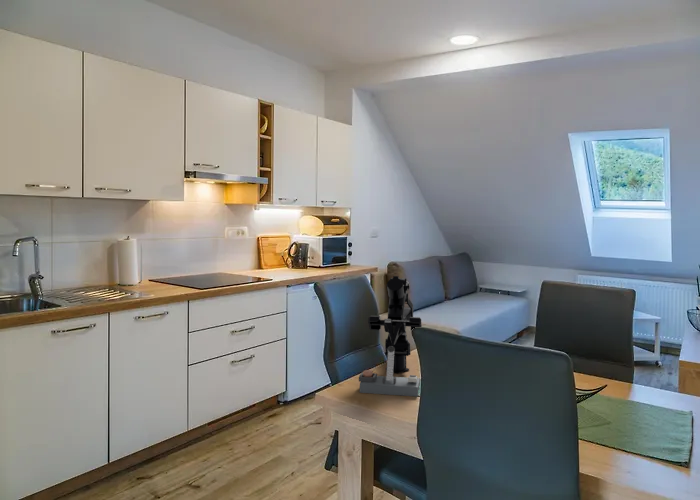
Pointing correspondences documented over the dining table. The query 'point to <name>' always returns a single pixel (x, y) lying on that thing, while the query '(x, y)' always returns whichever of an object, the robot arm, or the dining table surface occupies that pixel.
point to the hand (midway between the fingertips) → (392, 344)
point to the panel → (388, 385)
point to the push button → (367, 373)
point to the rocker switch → (412, 378)
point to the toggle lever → (390, 363)
